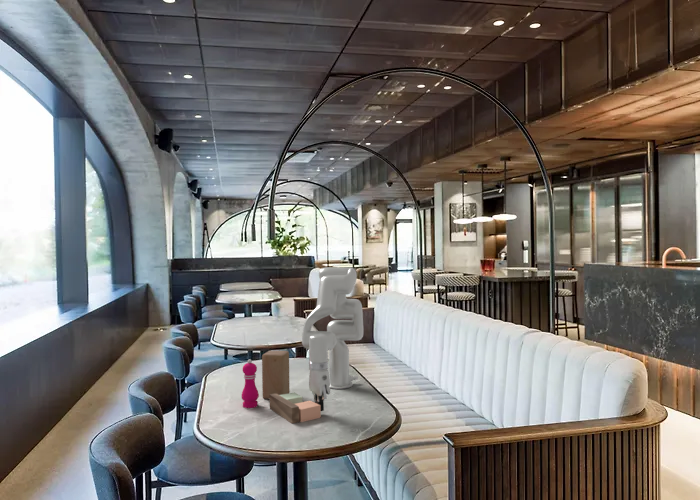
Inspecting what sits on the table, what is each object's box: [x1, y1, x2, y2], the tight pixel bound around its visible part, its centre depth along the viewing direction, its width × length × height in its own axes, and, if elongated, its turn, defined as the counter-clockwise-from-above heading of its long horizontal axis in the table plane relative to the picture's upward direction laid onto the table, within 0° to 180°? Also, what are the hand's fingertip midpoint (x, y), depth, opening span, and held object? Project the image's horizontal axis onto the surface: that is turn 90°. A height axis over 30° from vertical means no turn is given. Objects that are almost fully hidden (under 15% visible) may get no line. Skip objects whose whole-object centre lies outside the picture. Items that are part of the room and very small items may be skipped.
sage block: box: [280, 391, 304, 404], centre depth 230 cm, size 9×8×5 cm
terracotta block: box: [295, 400, 322, 423], centre depth 217 cm, size 9×8×5 cm
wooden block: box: [261, 350, 291, 400], centre depth 246 cm, size 10×10×20 cm
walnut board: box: [269, 393, 300, 424], centre depth 219 cm, size 3×22×6 cm, turn 31°
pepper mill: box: [241, 358, 260, 409], centre depth 232 cm, size 7×7×20 cm
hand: (319, 410), depth 220 cm, fingers closed
